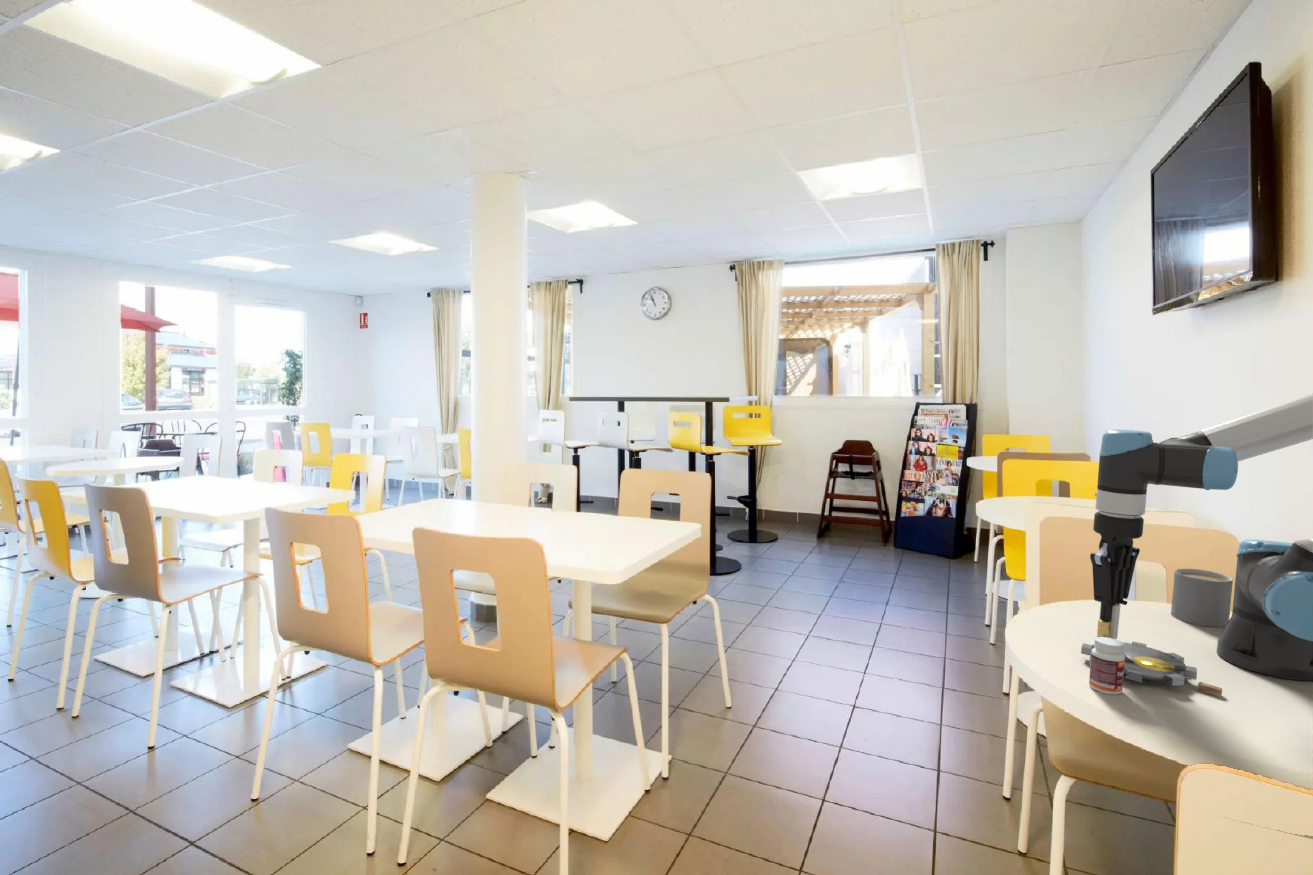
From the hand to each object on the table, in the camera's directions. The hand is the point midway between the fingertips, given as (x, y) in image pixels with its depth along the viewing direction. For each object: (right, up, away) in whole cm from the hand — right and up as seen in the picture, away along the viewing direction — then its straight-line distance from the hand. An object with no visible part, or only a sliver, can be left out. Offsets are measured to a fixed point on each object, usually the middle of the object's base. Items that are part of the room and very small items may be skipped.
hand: (1107, 636), depth 125 cm
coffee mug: (+36, -3, +24) cm, 43 cm away
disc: (+2, -3, -5) cm, 6 cm away
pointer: (+8, -6, -13) cm, 17 cm away
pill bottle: (-8, -6, -12) cm, 16 cm away
